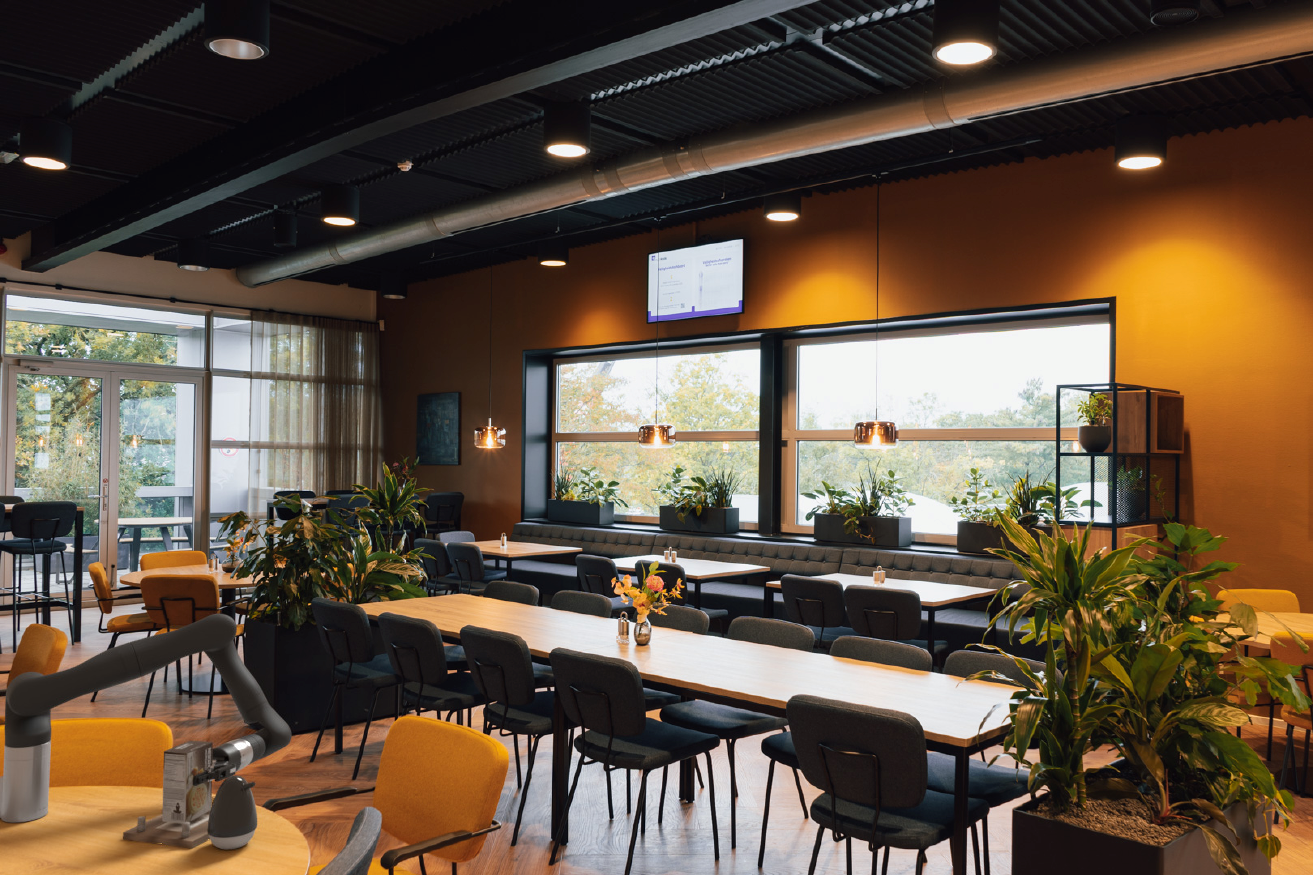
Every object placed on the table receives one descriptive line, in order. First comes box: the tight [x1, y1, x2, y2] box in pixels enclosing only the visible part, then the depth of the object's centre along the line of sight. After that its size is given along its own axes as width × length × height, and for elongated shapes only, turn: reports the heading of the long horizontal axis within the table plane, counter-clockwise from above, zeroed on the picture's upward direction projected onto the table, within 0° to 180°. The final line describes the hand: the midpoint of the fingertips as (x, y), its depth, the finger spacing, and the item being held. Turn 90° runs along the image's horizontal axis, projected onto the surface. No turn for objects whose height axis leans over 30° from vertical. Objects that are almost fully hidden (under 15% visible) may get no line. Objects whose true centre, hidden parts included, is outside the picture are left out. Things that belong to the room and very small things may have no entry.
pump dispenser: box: [207, 774, 258, 851], centre depth 214 cm, size 10×10×15 cm
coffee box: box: [161, 740, 214, 824], centre depth 223 cm, size 9×6×16 cm
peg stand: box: [122, 811, 210, 849], centre depth 222 cm, size 18×18×4 cm
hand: (181, 779), depth 221 cm, fingers closed on coffee box, 6 cm apart
